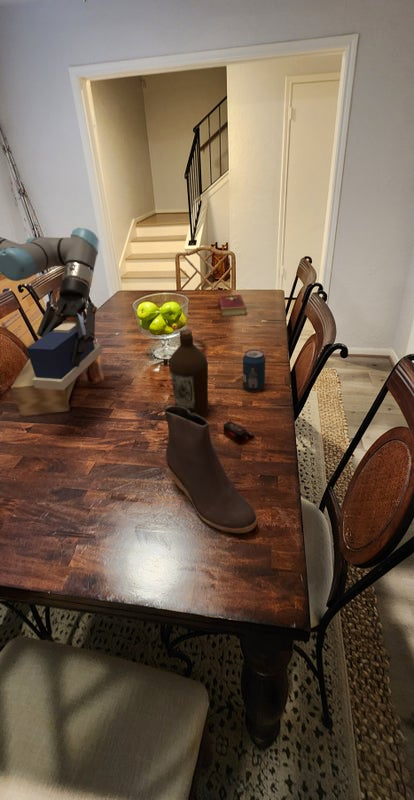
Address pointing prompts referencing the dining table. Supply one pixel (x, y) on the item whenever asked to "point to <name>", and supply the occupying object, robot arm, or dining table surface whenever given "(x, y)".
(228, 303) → the hardcover book
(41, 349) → the navy block on base
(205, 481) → the boot
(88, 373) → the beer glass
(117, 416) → the dining table surface
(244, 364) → the soda can
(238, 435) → the wireless earbuds
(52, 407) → the tan long block
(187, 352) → the olive oil
